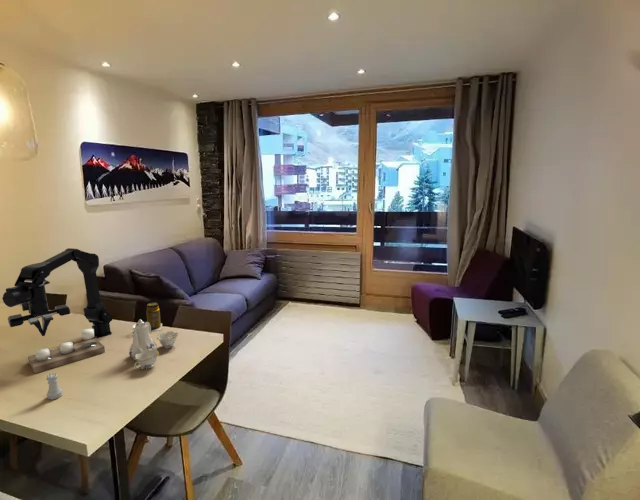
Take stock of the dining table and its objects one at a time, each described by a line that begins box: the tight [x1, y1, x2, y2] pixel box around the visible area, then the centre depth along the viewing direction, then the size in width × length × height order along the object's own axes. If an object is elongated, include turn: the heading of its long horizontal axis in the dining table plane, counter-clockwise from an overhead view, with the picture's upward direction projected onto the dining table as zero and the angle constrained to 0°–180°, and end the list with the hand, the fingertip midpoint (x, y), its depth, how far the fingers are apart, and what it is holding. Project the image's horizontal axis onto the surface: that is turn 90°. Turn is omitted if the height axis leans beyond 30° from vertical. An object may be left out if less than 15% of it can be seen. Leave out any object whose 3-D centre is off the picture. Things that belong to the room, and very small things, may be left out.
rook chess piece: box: [45, 372, 64, 401], centre depth 123 cm, size 4×4×8 cm
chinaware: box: [128, 318, 179, 370], centre depth 150 cm, size 28×17×17 cm, turn 3°
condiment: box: [145, 302, 163, 332], centre depth 179 cm, size 7×8×12 cm
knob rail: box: [27, 337, 106, 374], centre depth 150 cm, size 24×12×3 cm, turn 136°
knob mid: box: [59, 341, 74, 354], centre depth 149 cm, size 4×4×3 cm
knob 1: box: [34, 347, 51, 361], centre depth 144 cm, size 4×4×3 cm
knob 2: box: [81, 327, 95, 340], centre depth 154 cm, size 4×4×3 cm
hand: (43, 335), depth 143 cm, fingers closed
